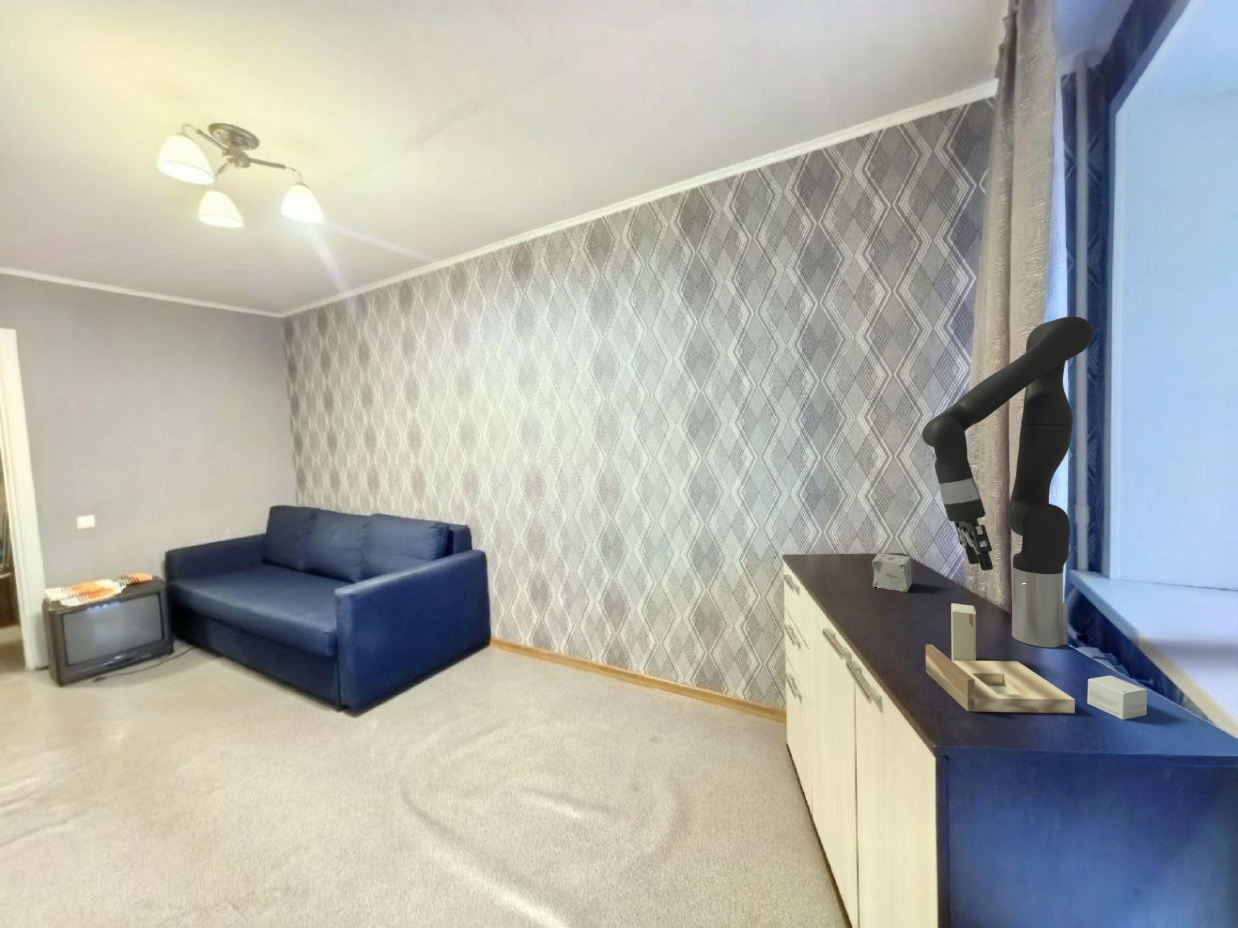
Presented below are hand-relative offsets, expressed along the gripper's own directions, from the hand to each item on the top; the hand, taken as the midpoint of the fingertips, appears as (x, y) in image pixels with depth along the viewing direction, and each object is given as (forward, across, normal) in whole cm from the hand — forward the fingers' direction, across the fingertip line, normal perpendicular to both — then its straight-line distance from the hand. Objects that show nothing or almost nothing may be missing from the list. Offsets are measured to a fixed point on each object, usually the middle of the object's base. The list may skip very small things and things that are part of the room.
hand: (980, 566), depth 117 cm
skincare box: (+18, -10, +11) cm, 23 cm away
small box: (+24, -24, -8) cm, 34 cm away
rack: (+19, -22, +9) cm, 30 cm away
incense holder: (+12, +42, +15) cm, 46 cm away
